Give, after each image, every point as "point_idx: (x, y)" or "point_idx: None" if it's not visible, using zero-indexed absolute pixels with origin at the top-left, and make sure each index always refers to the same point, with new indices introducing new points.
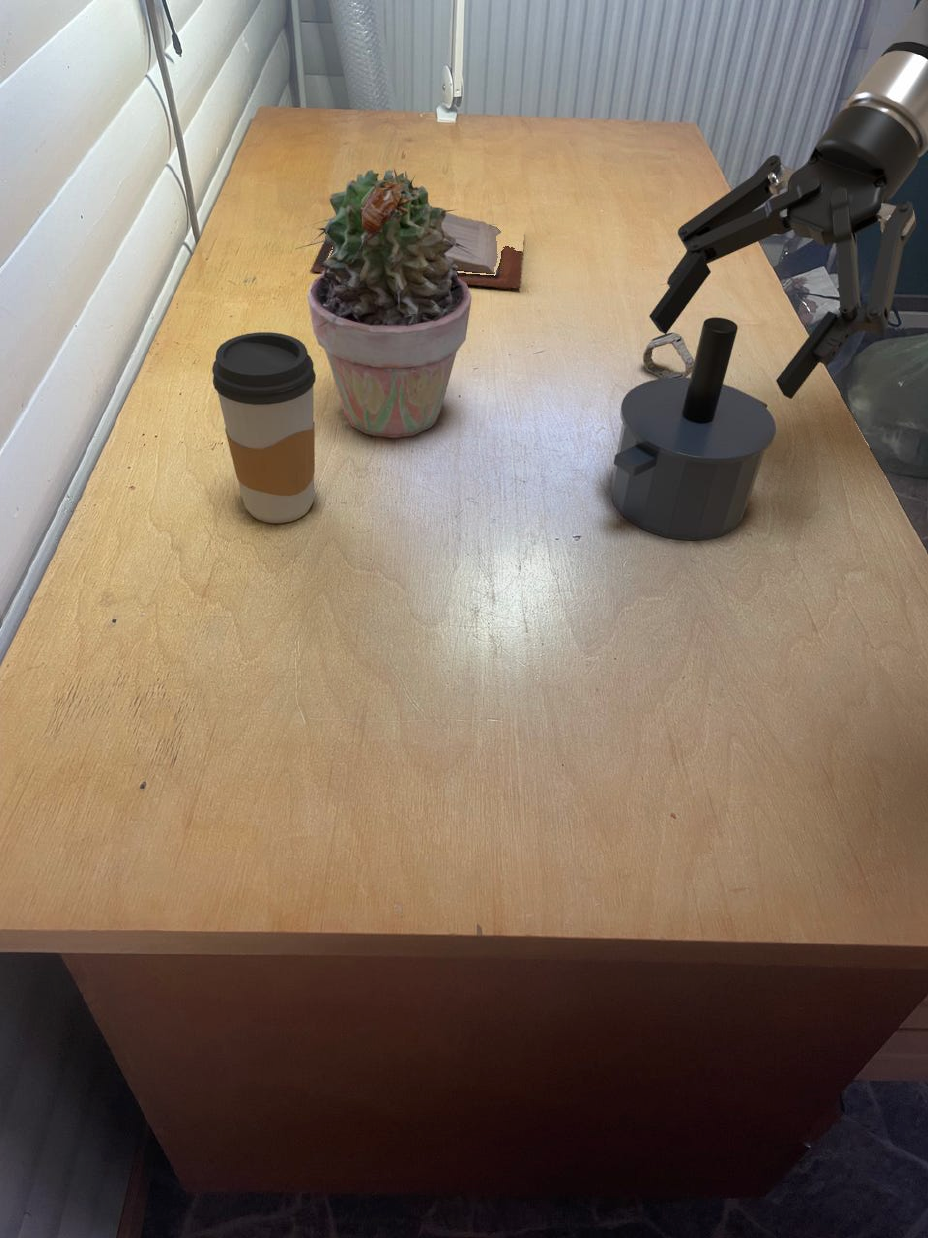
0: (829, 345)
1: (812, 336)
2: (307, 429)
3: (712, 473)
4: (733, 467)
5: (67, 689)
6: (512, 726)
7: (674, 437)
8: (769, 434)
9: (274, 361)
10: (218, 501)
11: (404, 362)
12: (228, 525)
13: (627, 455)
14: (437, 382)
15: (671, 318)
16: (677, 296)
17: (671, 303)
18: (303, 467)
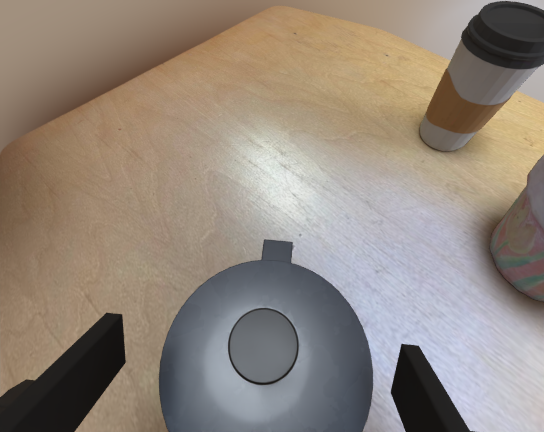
0: (4, 405)
1: (43, 390)
2: (454, 85)
3: None
4: None
5: (357, 35)
6: (210, 118)
7: (256, 288)
8: (167, 398)
9: (506, 26)
10: None
11: (531, 174)
12: None
13: (282, 249)
14: (523, 240)
15: (402, 401)
16: (425, 412)
17: (416, 391)
18: (436, 106)
